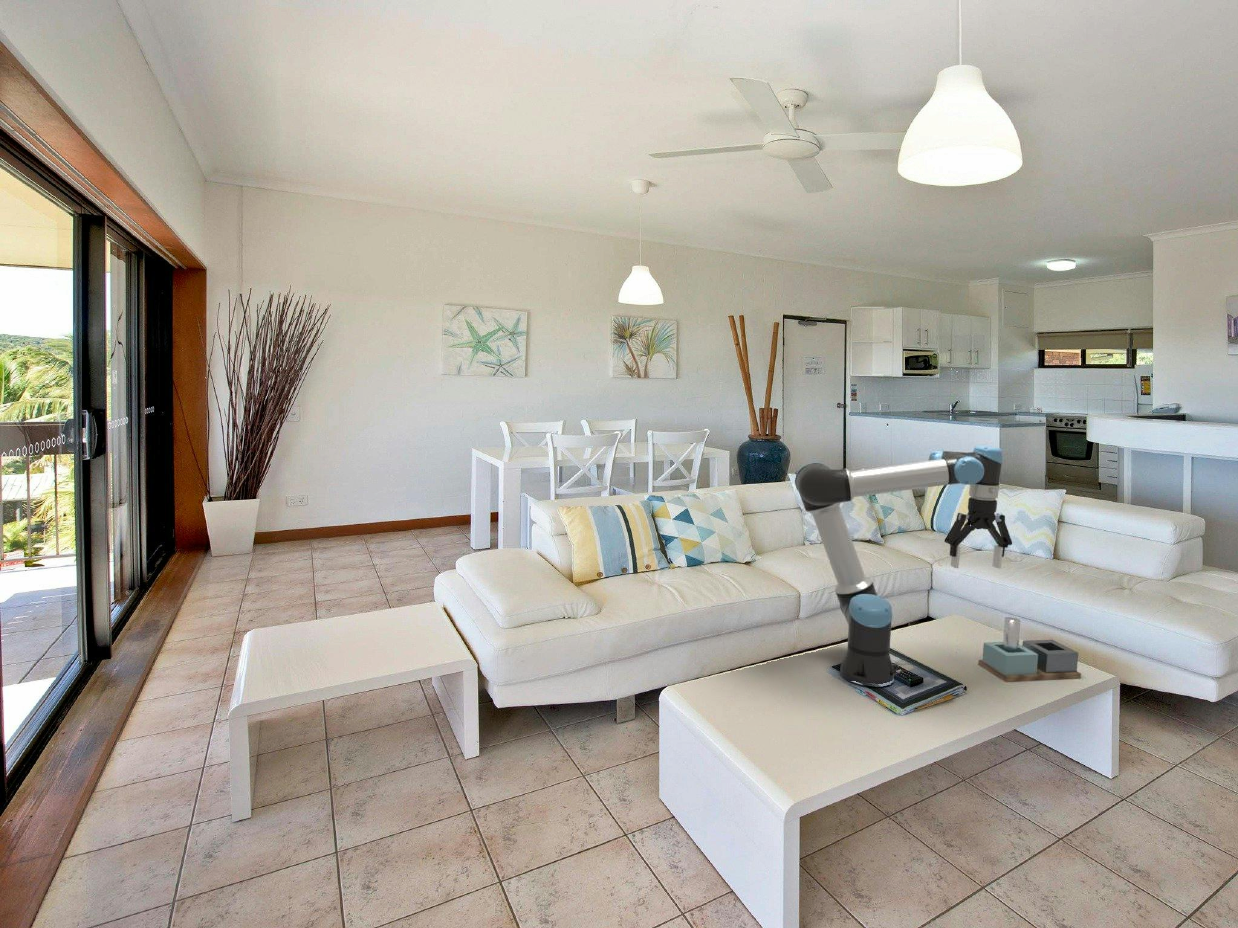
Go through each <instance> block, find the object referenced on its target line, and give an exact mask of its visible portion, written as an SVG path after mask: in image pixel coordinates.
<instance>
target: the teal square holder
mask: <svg viewBox="0 0 1238 928" xmlns="http://www.w3.org/2000/svg"><path fill="white" fill-rule="evenodd" d="M982 647H983V648H982V659H981V660H982V661H983V662H984V663H986V664H988V665H989V666H991V667H992V668H994V669H996V670H997V671H999V672H1000V673H1002V674H1004V675H1026V674H1037V662H1038V654H1036V653H1034V652H1033V651H1031V650H1029V649H1027V648H1025V647H1023V646H1022V644H1020V643H1019V645H1018V652H1016V653H1008V652H1006V651H1004V650H1002V648H1003V641H989V642H985V641H984V642H983V646H982Z"/></svg>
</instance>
